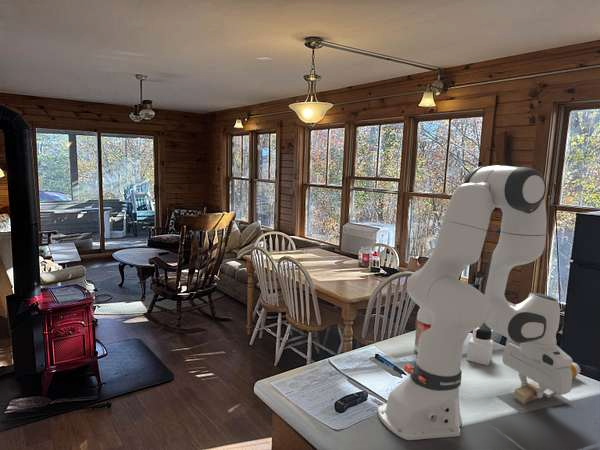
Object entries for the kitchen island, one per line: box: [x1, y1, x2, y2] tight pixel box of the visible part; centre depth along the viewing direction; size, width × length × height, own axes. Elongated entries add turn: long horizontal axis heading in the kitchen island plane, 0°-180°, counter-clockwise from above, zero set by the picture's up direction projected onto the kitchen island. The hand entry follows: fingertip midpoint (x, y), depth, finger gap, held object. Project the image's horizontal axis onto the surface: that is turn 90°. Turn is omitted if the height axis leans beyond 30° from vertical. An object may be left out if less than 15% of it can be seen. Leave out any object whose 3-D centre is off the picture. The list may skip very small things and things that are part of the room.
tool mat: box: [495, 391, 572, 414], centre depth 123 cm, size 20×9×1 cm, turn 112°
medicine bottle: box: [466, 325, 494, 366], centre depth 148 cm, size 7×7×12 cm
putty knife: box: [514, 381, 557, 404], centre depth 123 cm, size 15×6×3 cm, turn 111°
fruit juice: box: [414, 306, 433, 353], centre depth 152 cm, size 9×9×28 cm
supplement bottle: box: [569, 362, 581, 380], centre depth 137 cm, size 5×5×10 cm
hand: (531, 392), depth 122 cm, fingers closed on putty knife, 3 cm apart
